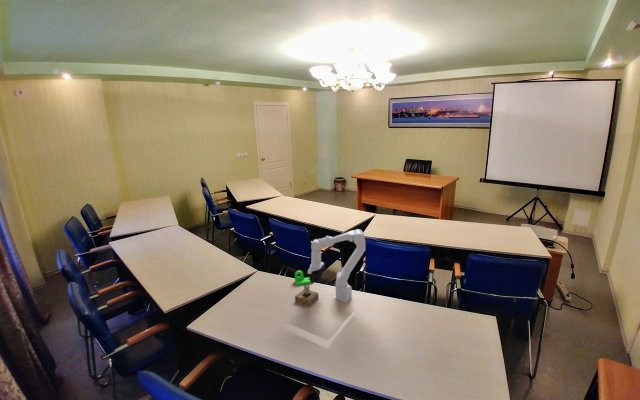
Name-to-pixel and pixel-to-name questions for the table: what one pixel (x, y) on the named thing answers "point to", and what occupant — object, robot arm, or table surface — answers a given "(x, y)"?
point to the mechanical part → (301, 279)
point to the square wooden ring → (306, 298)
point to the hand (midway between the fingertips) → (315, 280)
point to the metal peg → (306, 290)
